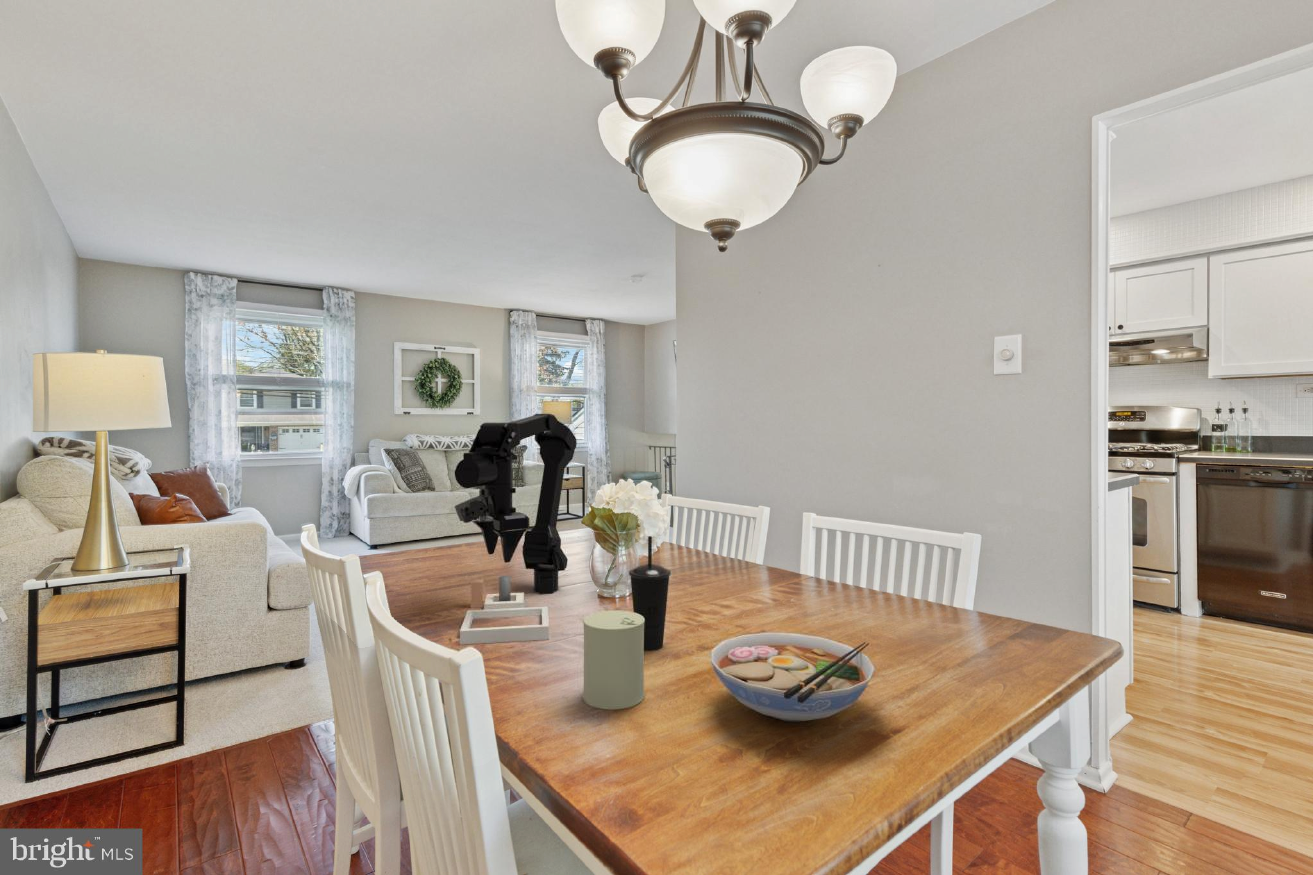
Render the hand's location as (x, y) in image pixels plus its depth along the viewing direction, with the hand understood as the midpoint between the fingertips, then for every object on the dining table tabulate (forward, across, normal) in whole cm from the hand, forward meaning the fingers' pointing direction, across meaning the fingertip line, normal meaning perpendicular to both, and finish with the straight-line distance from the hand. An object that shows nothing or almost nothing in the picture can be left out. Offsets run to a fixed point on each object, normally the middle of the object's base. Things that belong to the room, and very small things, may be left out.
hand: (498, 558), depth 131 cm
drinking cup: (+13, +31, +17) cm, 38 cm away
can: (+12, +46, 0) cm, 48 cm away
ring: (+11, -5, +2) cm, 13 cm away
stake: (+13, -4, +3) cm, 14 cm away
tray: (+12, +9, -2) cm, 15 cm away
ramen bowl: (+12, +64, +18) cm, 68 cm away
